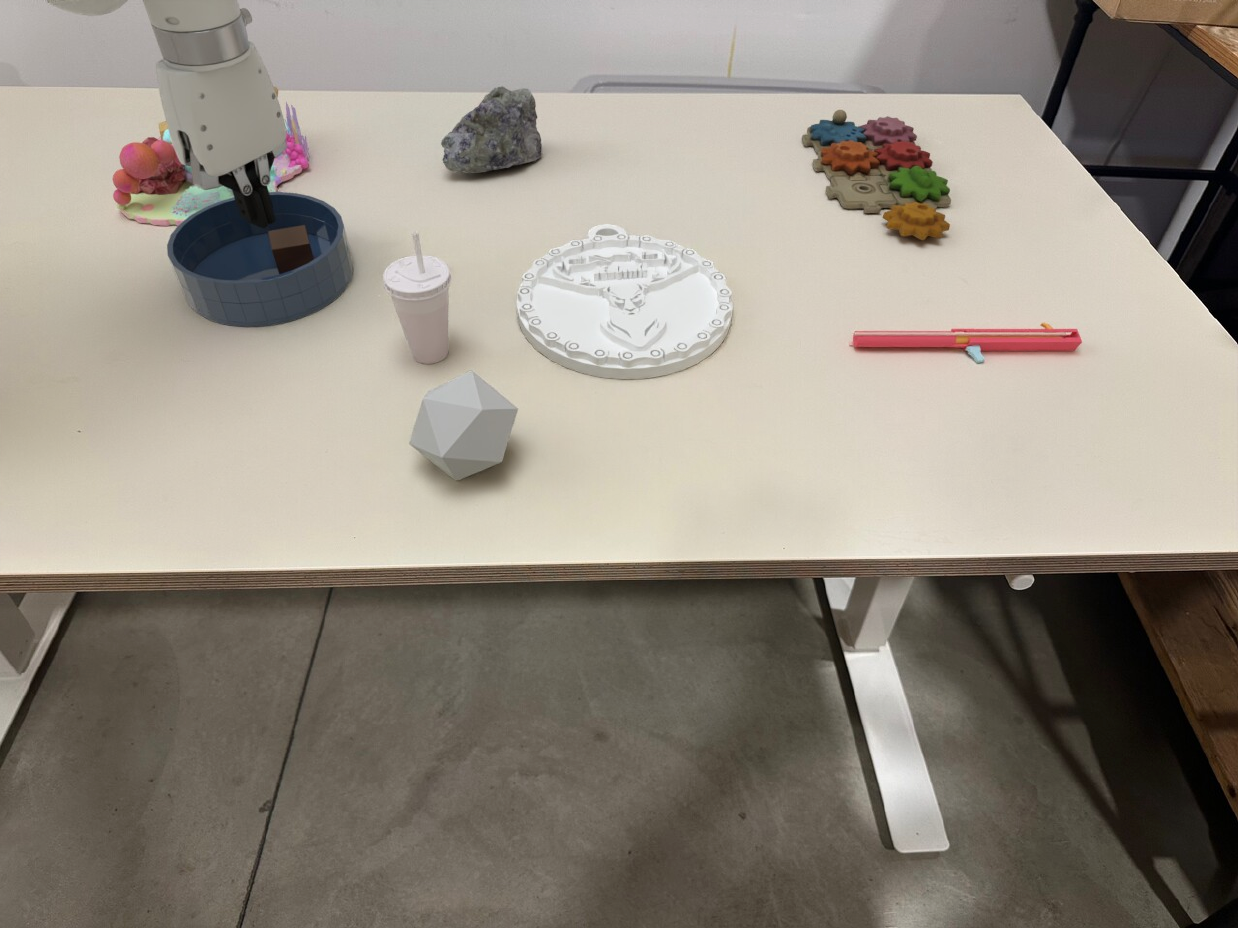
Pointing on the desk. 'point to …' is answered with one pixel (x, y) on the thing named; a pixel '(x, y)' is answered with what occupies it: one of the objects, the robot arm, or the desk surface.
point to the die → (463, 426)
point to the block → (290, 248)
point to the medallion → (624, 305)
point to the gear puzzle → (881, 172)
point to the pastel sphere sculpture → (186, 177)
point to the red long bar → (974, 339)
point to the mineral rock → (495, 134)
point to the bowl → (259, 262)
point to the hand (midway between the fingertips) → (259, 221)
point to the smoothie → (421, 302)
